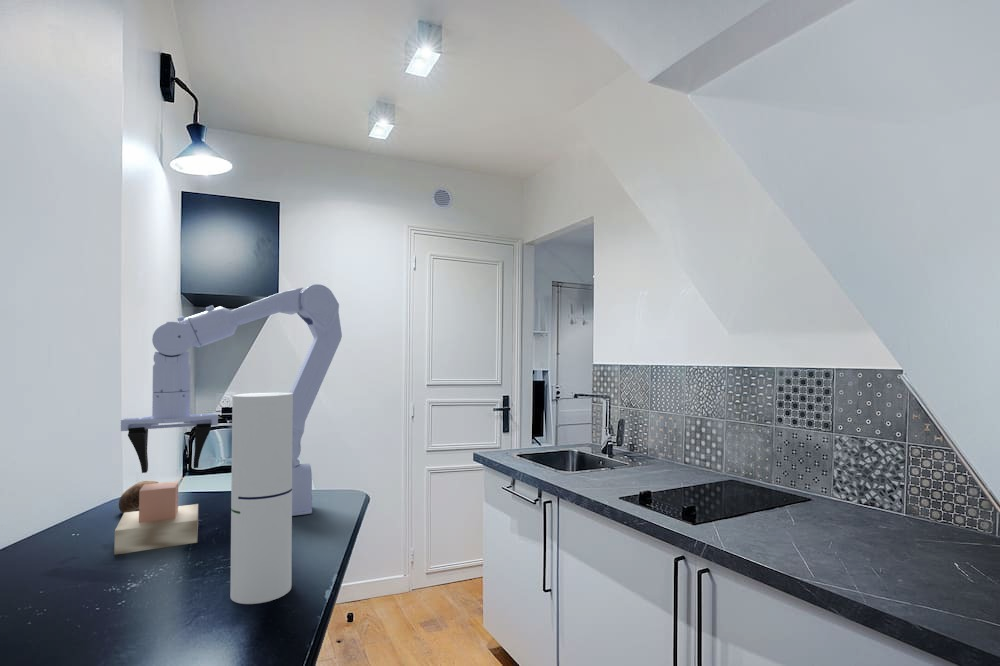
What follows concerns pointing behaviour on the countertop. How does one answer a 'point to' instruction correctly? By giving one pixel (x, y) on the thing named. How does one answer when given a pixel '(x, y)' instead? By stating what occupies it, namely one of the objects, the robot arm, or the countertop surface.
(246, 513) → the cylindrical container
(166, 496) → the terracotta cube
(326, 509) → the countertop surface
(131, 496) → the mushroom
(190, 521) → the birch block
